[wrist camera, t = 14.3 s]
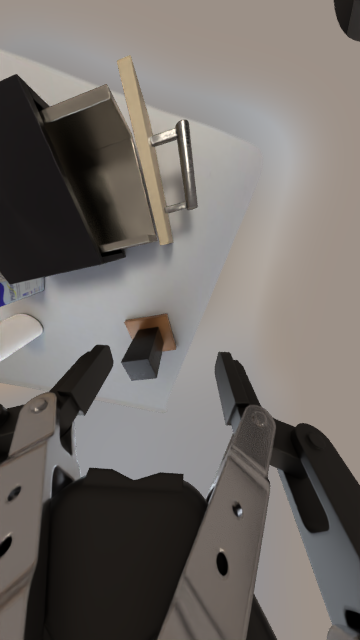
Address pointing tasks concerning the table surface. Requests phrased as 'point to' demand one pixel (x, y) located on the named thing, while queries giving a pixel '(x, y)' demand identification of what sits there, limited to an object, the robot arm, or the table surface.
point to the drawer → (118, 164)
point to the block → (144, 354)
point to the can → (17, 333)
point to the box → (18, 289)
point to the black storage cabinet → (37, 196)
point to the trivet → (151, 322)
